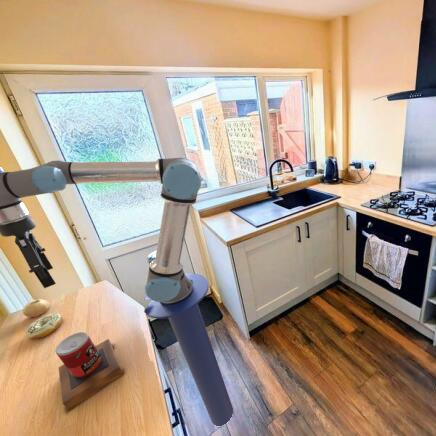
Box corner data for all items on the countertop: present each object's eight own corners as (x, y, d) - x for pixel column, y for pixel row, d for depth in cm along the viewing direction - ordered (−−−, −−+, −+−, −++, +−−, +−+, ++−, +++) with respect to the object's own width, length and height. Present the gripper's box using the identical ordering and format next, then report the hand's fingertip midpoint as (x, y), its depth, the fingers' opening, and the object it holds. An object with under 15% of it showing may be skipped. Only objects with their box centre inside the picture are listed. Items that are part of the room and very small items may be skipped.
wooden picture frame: (112, 345, 89) (108, 338, 88) (123, 373, 78) (119, 366, 77) (63, 374, 80) (58, 367, 79) (68, 410, 70) (62, 403, 68)
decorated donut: (26, 345, 93) (21, 338, 92) (33, 327, 101) (28, 320, 100) (61, 330, 98) (56, 323, 97) (64, 314, 107) (60, 308, 105)
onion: (31, 322, 104) (22, 309, 101) (24, 316, 108) (15, 304, 105) (54, 309, 111) (46, 297, 108) (47, 304, 114) (39, 292, 111)
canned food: (91, 377, 74) (74, 353, 70) (65, 379, 75) (47, 355, 70) (108, 354, 81) (93, 330, 77) (84, 356, 82) (69, 332, 77)
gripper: (-2, 215, 79) (33, 269, 88) (-11, 236, 62) (34, 300, 71) (29, 207, 83) (60, 259, 92) (29, 225, 67) (67, 286, 75)
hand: (49, 277), depth 82 cm, fingers open, 13 cm apart
